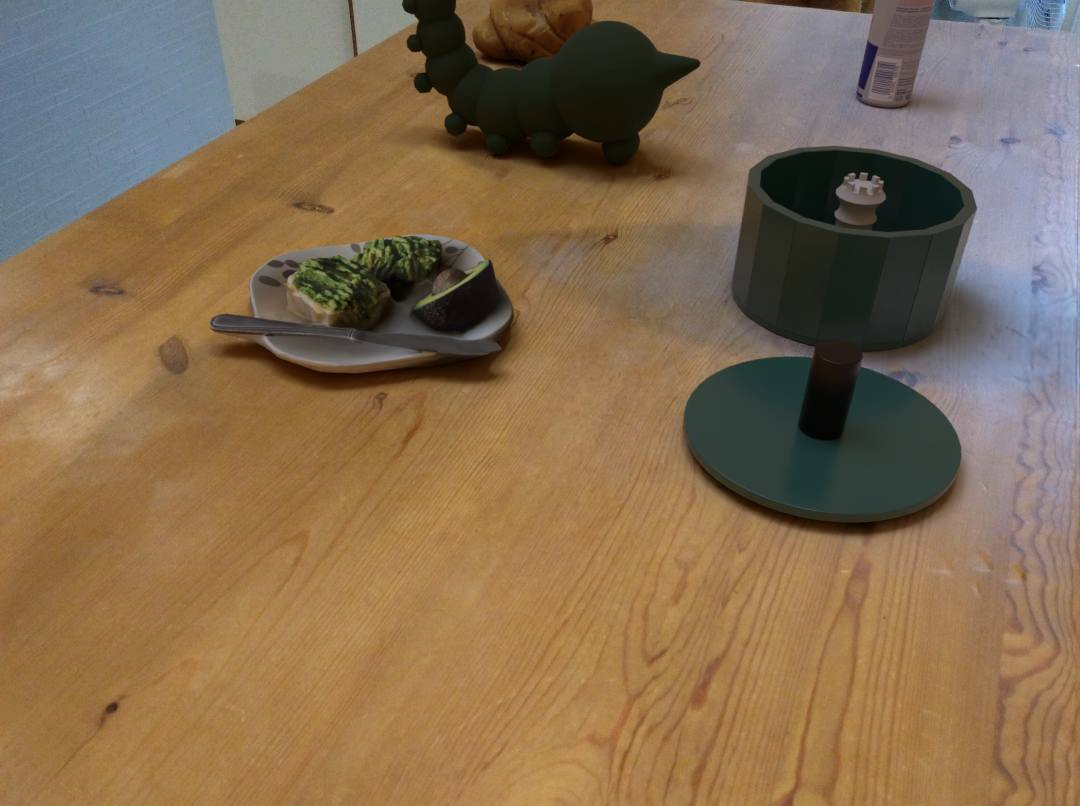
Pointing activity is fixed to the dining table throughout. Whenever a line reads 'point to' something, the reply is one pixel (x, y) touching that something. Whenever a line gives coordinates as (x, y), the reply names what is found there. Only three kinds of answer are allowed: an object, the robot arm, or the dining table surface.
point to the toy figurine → (547, 85)
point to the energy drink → (893, 51)
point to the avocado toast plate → (375, 305)
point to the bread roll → (530, 27)
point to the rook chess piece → (859, 201)
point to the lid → (822, 437)
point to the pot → (849, 248)
